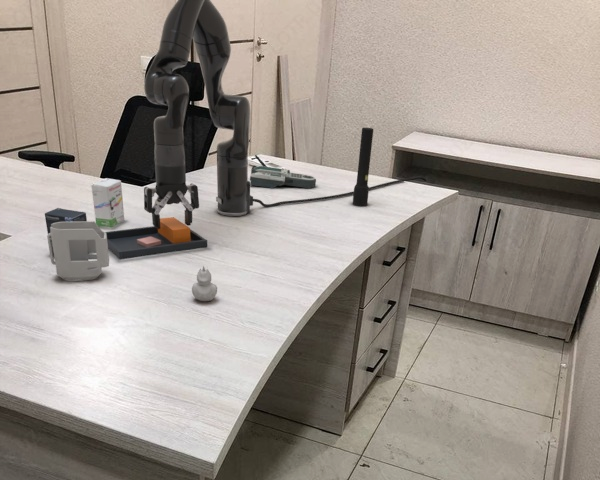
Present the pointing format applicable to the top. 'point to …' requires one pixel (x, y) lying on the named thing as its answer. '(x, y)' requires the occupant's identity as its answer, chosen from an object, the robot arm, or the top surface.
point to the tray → (127, 246)
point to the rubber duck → (204, 286)
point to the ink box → (108, 202)
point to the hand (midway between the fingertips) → (173, 226)
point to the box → (63, 218)
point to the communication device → (278, 177)
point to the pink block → (149, 241)
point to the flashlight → (363, 169)
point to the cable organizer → (78, 249)
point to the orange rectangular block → (173, 231)
